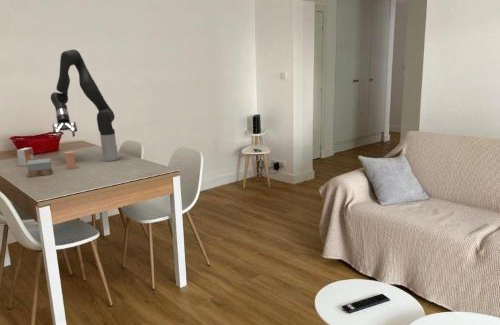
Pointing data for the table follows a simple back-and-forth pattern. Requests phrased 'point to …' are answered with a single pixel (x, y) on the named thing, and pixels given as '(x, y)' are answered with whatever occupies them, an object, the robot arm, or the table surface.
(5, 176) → the table surface
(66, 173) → the table surface
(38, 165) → the slate-grey slab
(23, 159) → the small box
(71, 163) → the terracotta block
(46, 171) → the walnut slab
